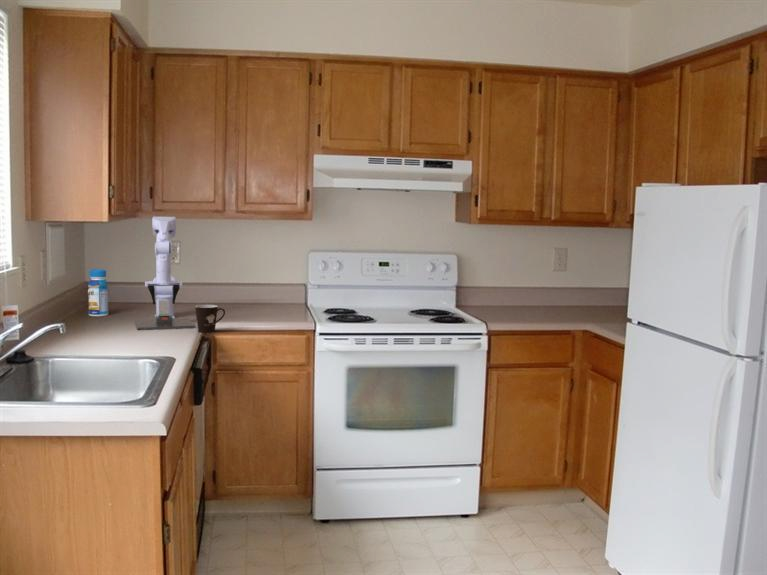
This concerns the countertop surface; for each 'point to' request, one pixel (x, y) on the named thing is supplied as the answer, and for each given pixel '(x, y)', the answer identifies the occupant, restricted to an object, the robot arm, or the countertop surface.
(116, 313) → the countertop surface
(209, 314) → the coffee mug
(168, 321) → the stand
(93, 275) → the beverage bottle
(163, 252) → the robot arm
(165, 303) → the silver metallic block
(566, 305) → the countertop surface
